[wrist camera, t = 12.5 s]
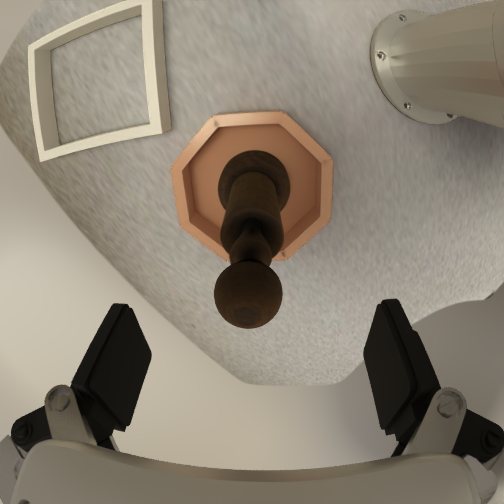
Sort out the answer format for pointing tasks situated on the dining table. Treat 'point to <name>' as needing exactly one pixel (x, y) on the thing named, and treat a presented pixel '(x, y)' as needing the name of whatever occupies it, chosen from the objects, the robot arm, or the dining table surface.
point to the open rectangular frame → (151, 9)
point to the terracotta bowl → (245, 139)
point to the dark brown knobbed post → (251, 237)
